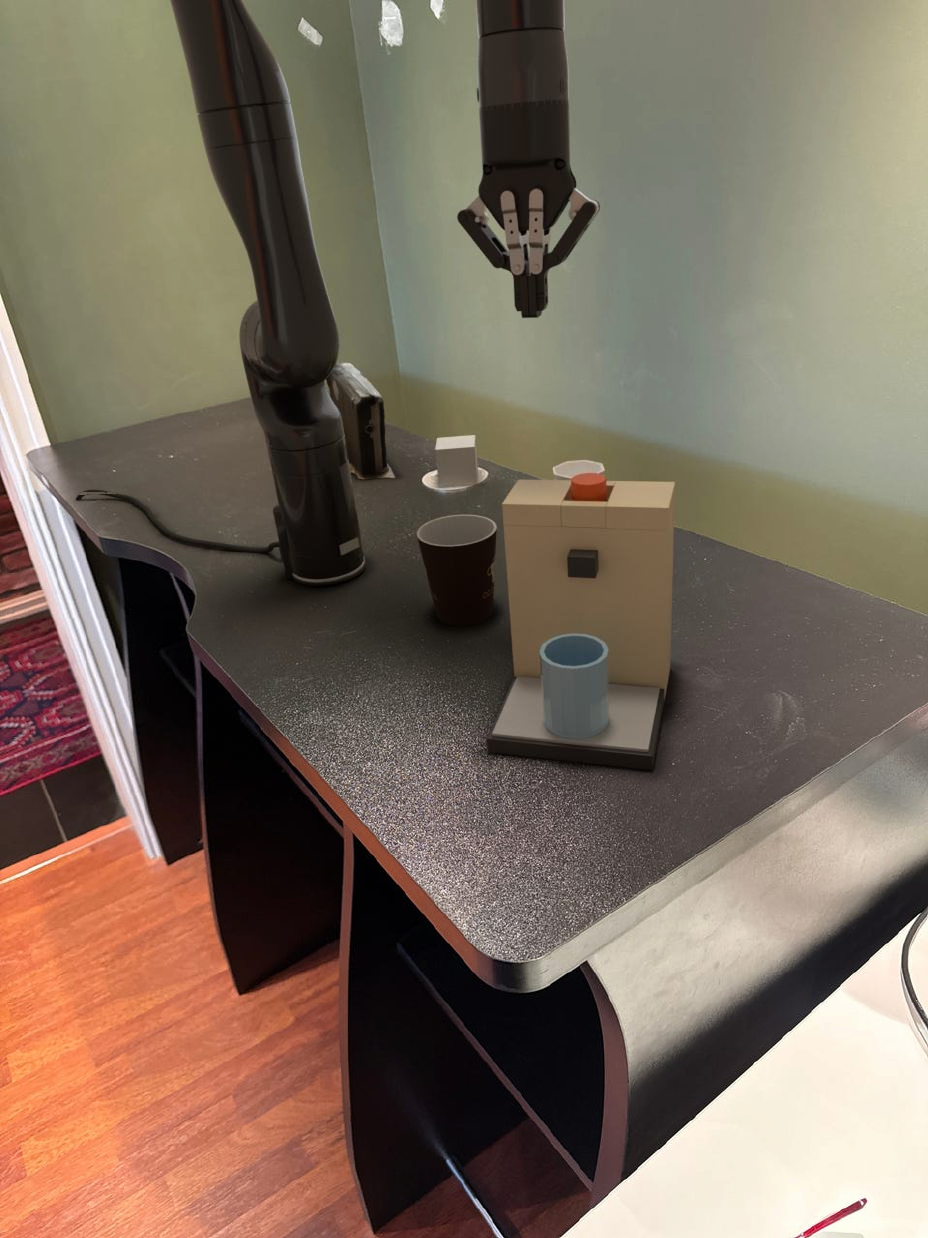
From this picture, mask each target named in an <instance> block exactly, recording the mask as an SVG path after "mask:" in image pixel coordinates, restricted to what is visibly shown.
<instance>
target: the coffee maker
mask: <svg viewBox="0 0 928 1238" xmlns="http://www.w3.org/2000/svg"><path fill="white" fill-rule="evenodd" d="M606 485H607V502H599V501H572V495H571V480H555V479H517V481H516V482H515V483H514V485H513V487H512V488H511V490H510V491H509V493H508V494H507V496H506V497H505V498H504V500H503V501H502V503H501V510H502V511H501V512H502V523H503V537H504V540H503V541H504V551H505V552H504V553H505V567H506V579H507V581H506V582H507V594H508V605H509V606H508V608H509V621H510V633H511V634H510V635H511V646H512V650H511V651H512V661H513V662H512V663H513V674H514V675H513V678H512V681H511V684H510V685H509V688H508V690H507V692H506V694H505V696H504V699H503V701H502V703H501V706H500V707H499V710H498V712H497V715H496V717H495V719H494V721H493V724H492V726H491V729H490V731H489V732H488V735H487V737H486V746H487V753H491V754H498V755H499V754H500V755H507V756H509V755H510V756H517V757H528V758H535V759H544V760H545V759H546V760H555V761H563V762H572V763H581V764H582V763H583V764H591V765H600V766H608V767H619V768H626V769H627V768H628V769H637V770H644V771H645V770H646V771H653V770H654V764H655V759H656V754H657V753H656V751H657V746H658V741H659V735H660V730H661V723H662V717H663V713H664V707H665V700H666V695H667V690H668V689H667V688H668V684H669V677H670V673H671V672H670V671H671V658H672V657H671V655H672V619H673V618H672V617H673V616H672V615H673V584H674V583H673V581H674V580H673V577H674V576H673V575H674V545H675V544H674V542H675V539H674V538H675V507H676V505H675V503H676V502H675V501H676V481H640V480H639V481H636V480H635V481H634V480H633V481H632V480H606ZM572 633H576V634H587V635H591V636H594V637H597V638H599V639H600V640H602V641H603V642H605V643H606V645H607V647H608V649H609V723H608V725H607V727H606V728H605V729H604V730H603V731H602V732H600V733H599V734H597V735H595V736H592V737H588V738H582V739H570V738H564V737H560V736H557V735H555V734H553V733H552V732H550V731H549V730H548V729H547V728H546V726H545V724H544V717H543V708H542V690H541V672H540V654H539V651H540V649H541V646H542V644H544V643H545V642H546V641H548V640H549V639H551V638H554V637H556V636H559V635H564V634H572Z"/></svg>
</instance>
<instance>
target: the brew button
mask: <svg viewBox="0 0 928 1238" xmlns="http://www.w3.org/2000/svg"><path fill="white" fill-rule="evenodd" d="M606 481H607V476H606V475H605V474H604V475H602V474H598V473H584V474H579V475H576V476H574V477H573V478H572V479H571V495H572V501H599V502H607V485H606Z"/></svg>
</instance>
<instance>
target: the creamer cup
mask: <svg viewBox="0 0 928 1238" xmlns="http://www.w3.org/2000/svg"><path fill="white" fill-rule="evenodd" d="M539 654H540V672H541V690H542V708H543V717H544V724H545V726H546V728H547V729H548V730H549V731H550V732H552V733H553V734H555V735H557V736H560V737H564V738H570V739H582V738H588V737H592V736H595V735H597V734H599V733H600V732H602V731H603V730H604V729H605V728H606V727H607V725H608V723H609V649H608V647H607V645H606V643H605V642H603V641H602V640H600V639H599V638H597V637H594V636H591V635H587V634H576V633H572V634H564V635H559V636H556V637H554V638H551V639H549V640H548V641H546V642H545V643H544V644H542V646H541V649H540V651H539Z"/></svg>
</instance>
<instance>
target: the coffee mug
mask: <svg viewBox="0 0 928 1238" xmlns="http://www.w3.org/2000/svg"><path fill="white" fill-rule="evenodd" d="M497 529H498V527H497V523H496V522H495V521H494V520H492V519H491V518H489V517H486V516H483V515H478V514H453V515H445V516H441V517H437V518H435V519H434V518H433V519H432V520H429V521H427V522H426V523H423V524H422V525H421V526H420V527H419V528H418V529H417V531H416V538H417V541H418V546H419V550H420V554H421V558H422V563H423V565H424V570H425V573H426V578H427V582H428V586H429V589H430V594H431V598H432V602H433V605H434V606H433V607H434V610H435V614H436V618H437V619H438V620H439V621H440V622H442V623H444V624H446V625H450V626H457V627H458V626H460V627H461V626H462V627H463V626H471V625H476V624H479V623H482V622H484V621H486V620H487V619H489V618H490V617H491V616H492V614H493V612H494V597H495V595H494V594H495V576H496V575H495V573H496V553H497V552H496V551H497V533H498V532H497V531H498V530H497Z"/></svg>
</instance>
